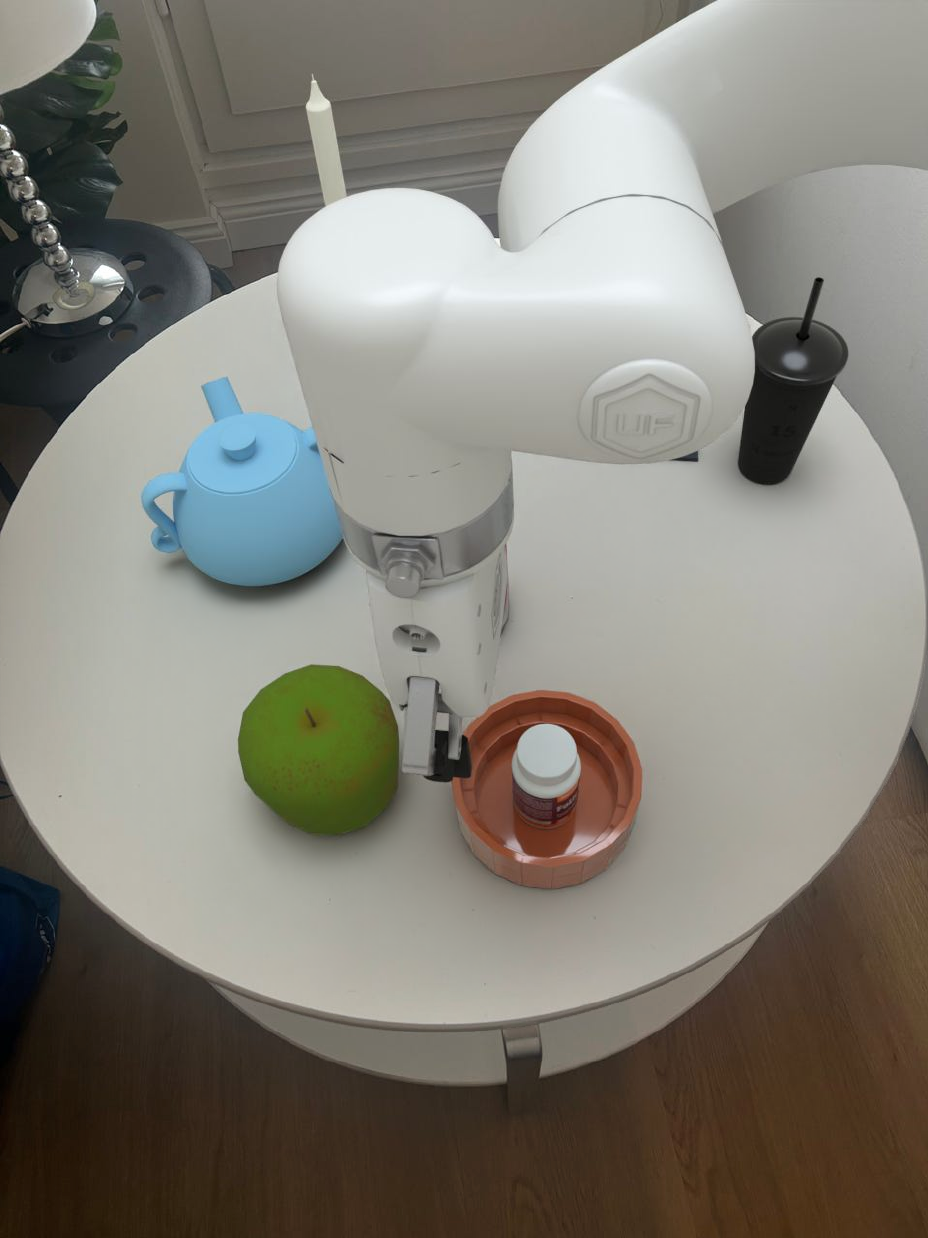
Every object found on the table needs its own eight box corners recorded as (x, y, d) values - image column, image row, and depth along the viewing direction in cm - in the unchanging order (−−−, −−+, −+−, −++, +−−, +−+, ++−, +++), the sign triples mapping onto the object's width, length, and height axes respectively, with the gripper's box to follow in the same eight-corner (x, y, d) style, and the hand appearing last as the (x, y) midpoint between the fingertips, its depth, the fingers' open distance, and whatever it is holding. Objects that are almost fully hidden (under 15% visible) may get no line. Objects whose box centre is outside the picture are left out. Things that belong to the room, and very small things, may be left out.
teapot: (183, 635, 80) (131, 543, 70) (140, 475, 91) (89, 374, 80) (402, 560, 83) (383, 460, 73) (335, 413, 94) (311, 308, 83)
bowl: (638, 730, 73) (645, 699, 68) (631, 900, 65) (638, 876, 61) (468, 714, 74) (465, 682, 70) (444, 878, 67) (438, 854, 63)
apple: (251, 845, 69) (209, 785, 60) (274, 715, 75) (240, 642, 66) (401, 849, 68) (382, 789, 59) (413, 717, 74) (397, 643, 65)
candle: (387, 376, 96) (344, 112, 74) (298, 359, 99) (231, 98, 76) (421, 314, 101) (390, 50, 79) (336, 299, 104) (282, 38, 81)
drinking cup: (712, 440, 89) (754, 254, 72) (792, 430, 89) (852, 242, 72) (734, 501, 85) (783, 319, 68) (818, 491, 85) (888, 306, 68)
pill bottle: (566, 839, 68) (571, 792, 61) (504, 818, 69) (501, 770, 62) (585, 781, 70) (591, 729, 63) (524, 762, 71) (524, 709, 64)
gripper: (488, 680, 35) (503, 845, 49) (532, 358, 44) (534, 576, 58) (290, 664, 36) (362, 830, 50) (375, 353, 45) (415, 567, 59)
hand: (455, 693), depth 54 cm, fingers open, 9 cm apart
